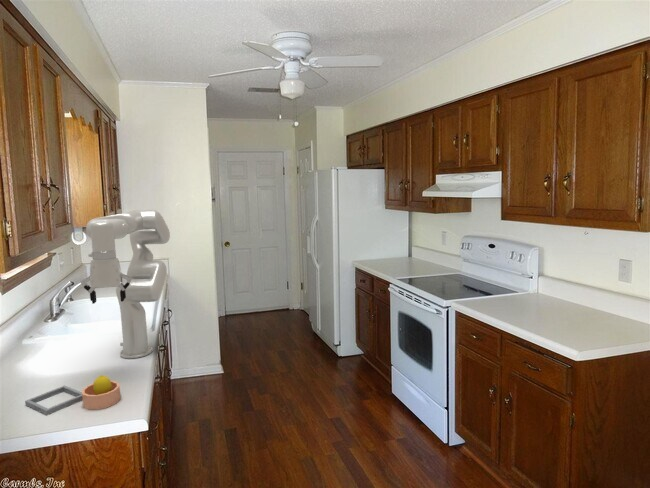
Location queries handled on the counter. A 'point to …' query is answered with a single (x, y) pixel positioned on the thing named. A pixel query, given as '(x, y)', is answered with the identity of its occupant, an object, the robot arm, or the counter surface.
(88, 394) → the bowl
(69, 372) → the counter surface
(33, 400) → the gray square frame
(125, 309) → the robot arm
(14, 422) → the counter surface
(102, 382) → the lemon
